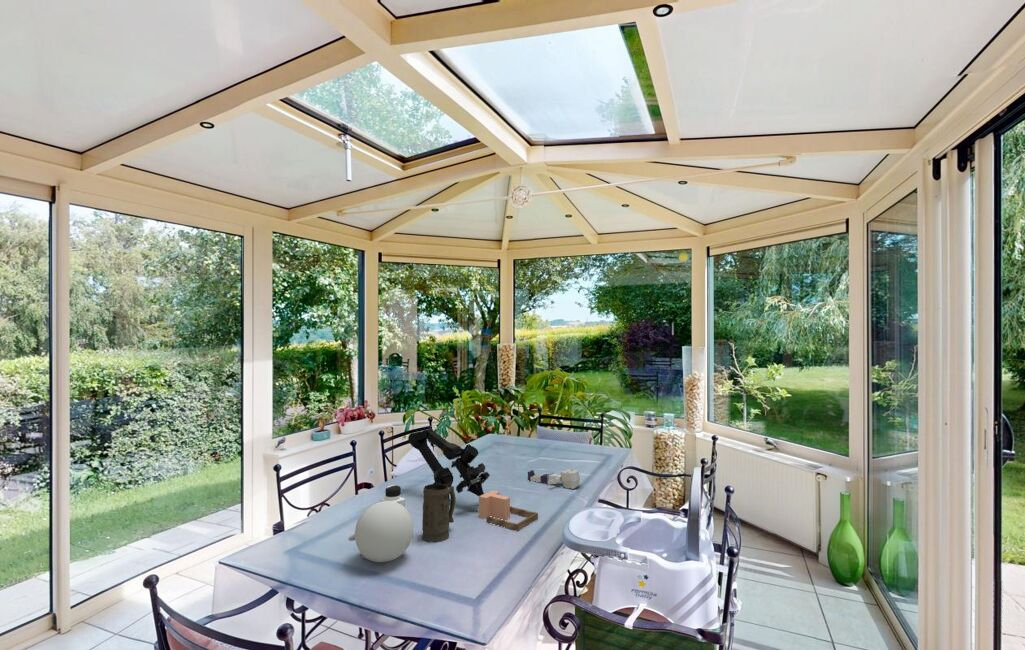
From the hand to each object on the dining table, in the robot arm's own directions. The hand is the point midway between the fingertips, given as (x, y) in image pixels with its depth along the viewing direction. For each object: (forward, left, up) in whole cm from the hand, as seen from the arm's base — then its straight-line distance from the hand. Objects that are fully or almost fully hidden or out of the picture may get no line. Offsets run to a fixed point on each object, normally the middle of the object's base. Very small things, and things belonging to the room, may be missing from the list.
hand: (483, 497), depth 208 cm
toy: (+41, +37, -7) cm, 56 cm away
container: (-40, +1, -7) cm, 41 cm away
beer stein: (-19, -21, -7) cm, 29 cm away
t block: (+5, -5, -7) cm, 10 cm away
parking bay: (+12, -11, -7) cm, 17 cm away
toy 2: (-38, -40, -7) cm, 56 cm away
